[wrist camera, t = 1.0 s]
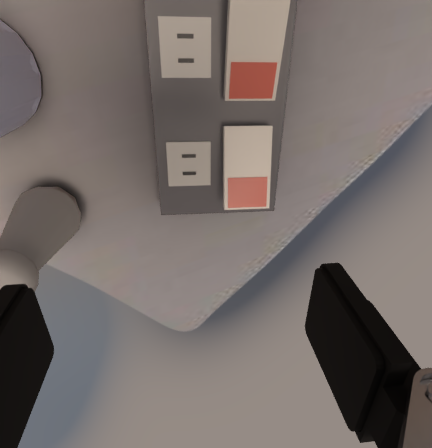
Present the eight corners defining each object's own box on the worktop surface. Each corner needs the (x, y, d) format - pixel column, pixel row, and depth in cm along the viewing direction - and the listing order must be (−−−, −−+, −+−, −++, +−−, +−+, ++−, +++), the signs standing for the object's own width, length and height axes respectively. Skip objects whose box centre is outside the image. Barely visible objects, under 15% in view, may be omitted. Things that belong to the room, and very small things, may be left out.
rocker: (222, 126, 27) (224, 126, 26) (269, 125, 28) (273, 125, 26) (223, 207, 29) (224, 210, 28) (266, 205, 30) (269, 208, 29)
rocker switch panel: (130, -215, 20) (121, -265, 17) (305, -200, 21) (328, -243, 18) (162, 201, 33) (160, 218, 30) (266, 198, 35) (275, 213, 31)
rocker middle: (228, -12, 21) (231, -10, 21) (287, -10, 22) (292, -8, 21) (223, 96, 26) (225, 101, 25) (272, 95, 26) (275, 101, 26)
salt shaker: (17, 215, 33) (-66, 308, 21) (34, 167, 30) (-49, 242, 19) (75, 237, 35) (27, 333, 23) (95, 194, 32) (52, 276, 21)
